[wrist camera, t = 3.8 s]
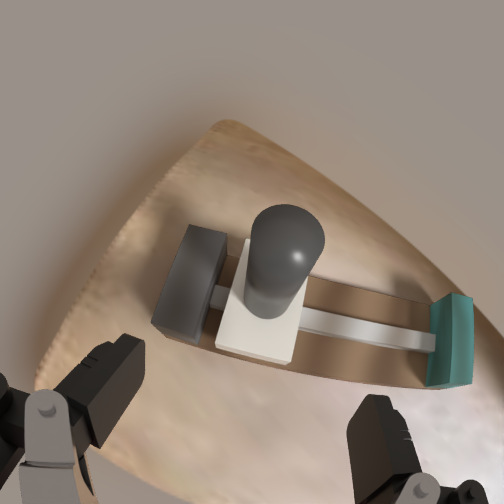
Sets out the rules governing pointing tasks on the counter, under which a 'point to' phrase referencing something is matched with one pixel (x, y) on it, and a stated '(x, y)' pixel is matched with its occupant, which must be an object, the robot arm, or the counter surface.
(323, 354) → the rail
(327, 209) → the counter surface
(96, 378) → the robot arm
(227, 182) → the counter surface
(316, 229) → the carriage
